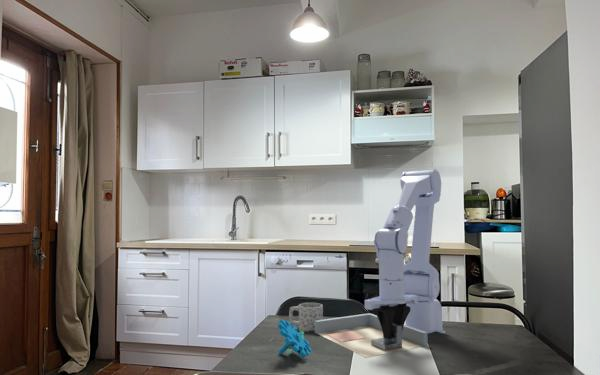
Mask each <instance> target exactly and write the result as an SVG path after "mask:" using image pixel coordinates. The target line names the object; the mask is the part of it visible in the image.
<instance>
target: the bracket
mask: <svg viewBox="0 0 600 375" xmlns="http://www.w3.org/2000/svg"><path fill="white" fill-rule="evenodd" d="M371 345H373V346H375V347H377V348H379V349H382V350H384V351H387V350H393V349H398V348H402V326H401V325H398V324H395V323H393V324H392V339H387V338H384V336H383V338H378V339H373V340H371Z"/></svg>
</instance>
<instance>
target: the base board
mask: <svg viewBox="0 0 600 375" xmlns="http://www.w3.org/2000/svg"><path fill="white" fill-rule="evenodd" d="M316 335H319V336H321V337H323V338H325V339H327V340H329V341H331V342H333V343H334V344H337V345H339V346H341V347H343V348H345V349H347V350H349V351H350V352H351V351H352V352H354V354H357V355H360V356H361V357H363V358H365V359H367V358H372V357H377V356H382V355H387V354H392V353H397V352H402V351H408V350H411V349H416V348H418V349H419V348H422V347H424V346H422V345H420V344H417V343H414V342H412V341H409V340H406V339H404V338H402V348H398V349H393V350H387V351H384V350H382V349H379V348H377V347H375V346H373V345H371V340H373V339H378V338H383V331H382V330H380V329H377V328H374V327H372V326H363V327H357V328H350V329H344V330H337V331H330V332H324V333H316ZM428 345H429V344H428ZM428 345H427V346H428ZM427 346H426V347H427Z"/></svg>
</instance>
